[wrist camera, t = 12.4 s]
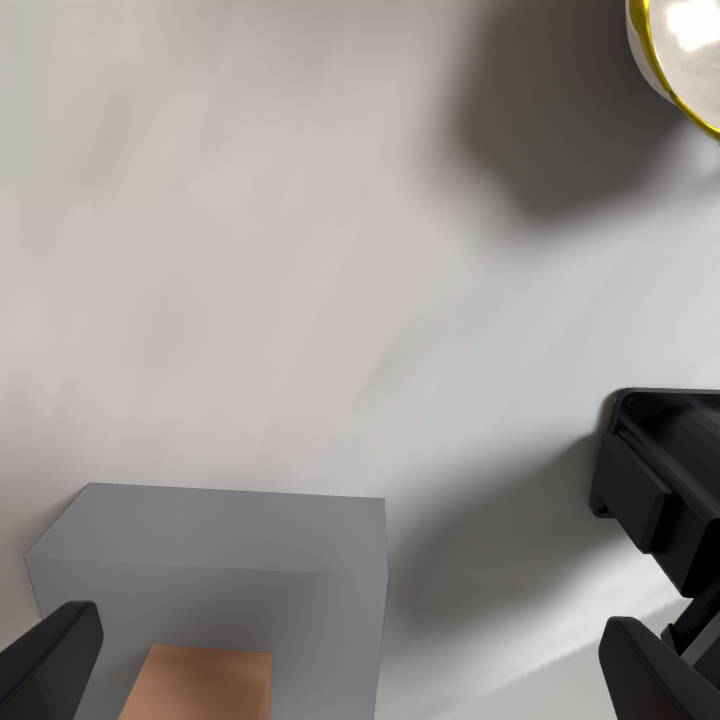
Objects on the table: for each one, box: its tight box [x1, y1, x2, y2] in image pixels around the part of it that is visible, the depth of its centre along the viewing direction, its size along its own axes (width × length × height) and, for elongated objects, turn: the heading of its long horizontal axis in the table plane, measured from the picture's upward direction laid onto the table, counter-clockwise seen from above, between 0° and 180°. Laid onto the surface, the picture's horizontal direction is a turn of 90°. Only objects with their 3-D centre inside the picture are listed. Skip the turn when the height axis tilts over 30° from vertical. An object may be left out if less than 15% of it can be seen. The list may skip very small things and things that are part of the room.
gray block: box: [24, 483, 388, 720], centre depth 23 cm, size 14×14×5 cm
